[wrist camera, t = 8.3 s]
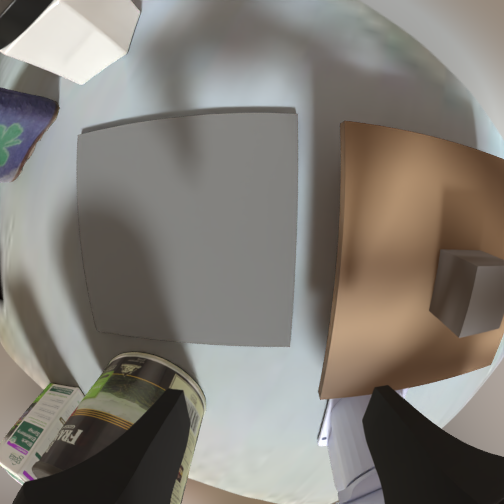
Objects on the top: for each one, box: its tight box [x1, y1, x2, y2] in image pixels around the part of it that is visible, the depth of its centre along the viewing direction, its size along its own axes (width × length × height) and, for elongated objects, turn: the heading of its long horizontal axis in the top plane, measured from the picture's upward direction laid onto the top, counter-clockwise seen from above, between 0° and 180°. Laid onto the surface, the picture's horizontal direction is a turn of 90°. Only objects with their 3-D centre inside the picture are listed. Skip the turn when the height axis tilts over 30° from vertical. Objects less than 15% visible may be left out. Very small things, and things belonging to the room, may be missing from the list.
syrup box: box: [0, 383, 85, 486], centre depth 17 cm, size 6×6×14 cm
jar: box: [0, 0, 140, 85], centre depth 9 cm, size 9×8×12 cm
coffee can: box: [32, 352, 206, 504], centre depth 15 cm, size 10×10×14 cm
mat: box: [77, 113, 298, 347], centre depth 18 cm, size 16×16×1 cm
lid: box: [318, 121, 504, 400], centre depth 11 cm, size 15×15×4 cm
